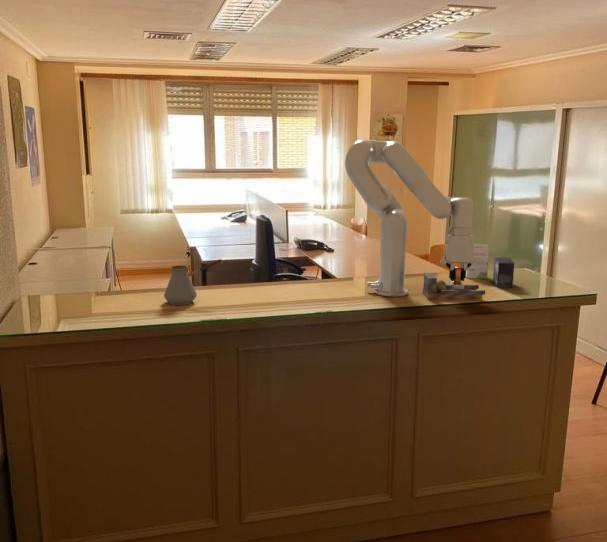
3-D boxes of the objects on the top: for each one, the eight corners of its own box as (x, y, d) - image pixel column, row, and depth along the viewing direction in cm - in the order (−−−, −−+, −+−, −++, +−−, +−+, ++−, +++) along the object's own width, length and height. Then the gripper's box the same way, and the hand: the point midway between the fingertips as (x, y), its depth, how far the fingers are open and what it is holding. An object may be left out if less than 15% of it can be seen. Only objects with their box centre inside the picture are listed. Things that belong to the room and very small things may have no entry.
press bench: (427, 299, 219) (428, 278, 217) (422, 293, 227) (423, 272, 226) (484, 300, 219) (486, 278, 217) (477, 293, 228) (479, 273, 226)
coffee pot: (165, 308, 206) (163, 265, 203) (163, 299, 217) (161, 259, 213) (226, 303, 212) (225, 262, 209) (221, 295, 223) (220, 255, 220)
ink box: (484, 276, 256) (487, 242, 252) (487, 278, 251) (489, 244, 247) (464, 275, 256) (466, 241, 253) (466, 278, 252) (468, 243, 248)
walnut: (435, 292, 221) (435, 281, 220) (432, 289, 225) (433, 278, 224) (446, 292, 221) (447, 281, 220) (444, 289, 225) (444, 278, 224)
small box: (491, 281, 247) (493, 256, 244) (507, 282, 246) (510, 257, 243) (496, 288, 236) (498, 262, 234) (513, 288, 235) (515, 262, 233)
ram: (453, 292, 220) (454, 269, 218) (449, 288, 226) (450, 265, 224) (463, 292, 220) (465, 269, 218) (459, 288, 226) (461, 265, 224)
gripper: (440, 233, 214) (437, 282, 218) (485, 233, 214) (481, 282, 218) (435, 229, 221) (432, 277, 225) (479, 230, 221) (475, 277, 226)
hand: (457, 279), depth 222 cm, fingers closed on ram, 3 cm apart
